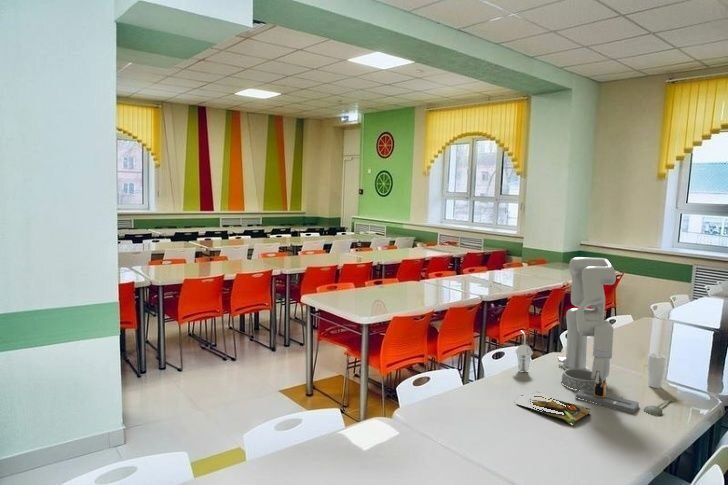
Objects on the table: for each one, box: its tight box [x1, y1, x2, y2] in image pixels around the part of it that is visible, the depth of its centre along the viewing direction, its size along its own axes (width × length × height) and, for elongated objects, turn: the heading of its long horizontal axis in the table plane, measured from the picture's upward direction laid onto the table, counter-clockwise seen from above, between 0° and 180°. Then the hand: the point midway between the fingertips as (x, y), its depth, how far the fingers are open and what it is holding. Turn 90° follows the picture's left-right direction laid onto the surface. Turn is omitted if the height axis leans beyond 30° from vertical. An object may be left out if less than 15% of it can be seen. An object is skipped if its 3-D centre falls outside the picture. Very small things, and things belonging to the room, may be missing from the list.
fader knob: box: [594, 381, 608, 398], centre depth 216 cm, size 4×3×6 cm
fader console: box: [575, 388, 640, 414], centre depth 215 cm, size 23×9×2 cm, turn 50°
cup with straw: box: [514, 330, 534, 372], centre depth 252 cm, size 8×9×20 cm
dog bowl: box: [561, 369, 596, 391], centre depth 235 cm, size 17×18×5 cm
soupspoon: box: [643, 398, 674, 417], centre depth 210 cm, size 22×3×7 cm
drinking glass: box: [647, 352, 666, 389], centre depth 233 cm, size 7×7×15 cm
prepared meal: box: [521, 391, 591, 425], centre depth 208 cm, size 28×4×18 cm
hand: (600, 393), depth 217 cm, fingers closed on fader knob, 3 cm apart
